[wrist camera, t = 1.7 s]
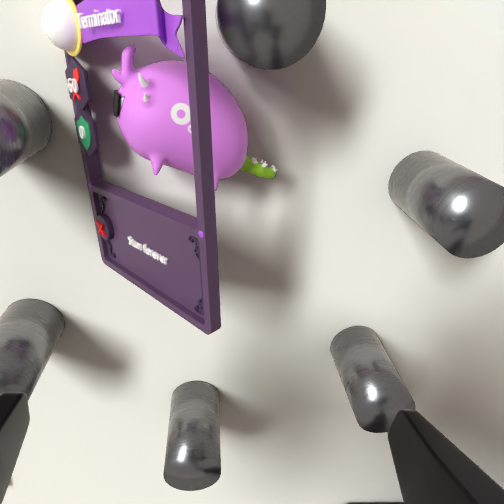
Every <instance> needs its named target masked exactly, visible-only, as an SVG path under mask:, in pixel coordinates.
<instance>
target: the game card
mask: <svg viewBox="0 0 504 504" xmlns="http://www.w3.org/2000/svg"><path fill="white" fill-rule="evenodd" d="M182 5H183V15H171V14H169V13H167V12H166V11H165V10H164V9H163V8H162V6H161V3H160V0H54V1H52V2H50V3H49V4H47V6H46V7H45V8H44V10H43V12H42V17H41V23H42V27H43V30H44V33H45V35H46V36H47V38H48V39H49V40H50V41H51V42H52V43H53V44H54V45H55V46H57V47H59V48H61V49H63V50H64V51H65V57H66V63H67V69H66V71H65V73H66V78H67V83H68V88H69V93H70V98H71V99H72V101H73V107H74V113H75V118H74V119H75V125H76V130H77V135H78V140H79V143H80V147H81V152H82V157H83V163H84V168H85V173H86V178H87V183H88V189H89V194H90V199H91V204H92V209H93V215H94V220H95V225H96V230H97V235H98V241H99V246H100V251H101V256H102V260H103V262H104V263H105V264H106V265H107V266H109V267H110V268H111V269H113V270H114V271H116V272H117V273H119V274H120V275H122V276H123V277H124V278H126V279H127V280H129V281H130V282H132V283H133V284H135V285H136V286H138V287H139V288H140V289H142V290H143V291H145V292H146V293H148V294H149V295H151V296H152V297H153V298H155V299H156V300H158V301H159V302H161V303H162V304H164V305H165V306H167V307H168V308H169V309H171V310H172V311H174V312H175V313H177V314H178V315H180V316H181V317H182V318H184V319H185V320H187V321H188V322H190V323H191V324H193V325H194V326H196V327H197V328H198V329H200V330H201V331H203V332H204V333H206V334H208V335H209V334H211V333H213V332H214V331H216V330H218V329H220V327H221V317H220V296H219V276H218V255H217V234H216V214H215V193H214V191H215V190H216V189H217V186H218V181H219V179H225V178H228V177H231V176H232V175H234V174H235V173H236V172H237V171H238V170H242V171H245V172H247V173H250V174H254V175H256V176H258V177H266V178H269V179H273V178H274V177H275V175H276V171H277V169H275V167H276V166H274V165H272V166H271V167H267V165H268V164H266V161H265V162H264V163H263V159H262V160H261V161H260V163H259V162H258V161H256V159H257V157H256V158H255V156H254V157H252V158H249V157H248V156H247V155H246V153H247V147H248V132H247V126H246V122H245V118H244V115H243V113H242V111H241V109H240V107H239V105H238V103H237V101H236V100H235V98H234V97H233V95H232V94H231V93H230V92H229V90H228V89H227V88H226V87H225V86H224V85H223V84H222V83H221V82H220V81H219V80H218V79H217V78H216V77H214V76H213V75H212V74H211V73H209V69H208V48H207V28H206V7H205V0H182ZM182 19H184V33H185V48H186V62H184V61H175V60H170V61H161V62H156V63H152V64H149V65H146V66H143V67H141V68H139V69H137V70H136V71H135V70H134V67H133V56H134V53H135V50H136V48H135V47H134V45H129V46H128V47H126V48H125V49H124V51H123V53H122V71H120V70H118V69H112V74H113V76H114V78H115V79H116V80H117V81H118V82H119V83H120V84H121V86H120V88H119V90H115V91H114V98H113V109H114V115H115V116H116V117H117V121H118V124H119V127H120V129H121V131H122V133H123V135H124V137H125V139H126V141H127V142H128V144H129V145H130V147H131V148H132V149H133V150H134V151H135V152H136V153H137V154H139V155H140V156H142V157H143V158H145V159H148V160H150V161H151V163H152V167H153V171H154V175H157V174H158V173H159V171H160V169H161V167H162V165H167V166H170V167H173V168H176V169H179V170H182V171H185V172H188V173H191V174H193V175H194V176H195V190H196V205H197V218H195V217H193V216H190V215H188V214H185V213H183V212H180V211H178V210H175V209H173V208H170V207H168V206H165V205H163V204H160V203H158V202H155V201H153V200H150V199H148V198H145V197H142V196H140V195H137V194H135V193H132V192H130V191H127V190H125V189H122V188H120V187H117V186H115V185H112V184H110V183H107V182H105V181H103V180H102V178H101V173H100V167H99V162H98V156H97V150H98V148H99V141H98V135H97V130H96V124H95V121H94V120H93V118H92V117H91V116H90V110H89V103H90V101H91V95H90V89H89V83H88V77H87V71H86V70H85V69H84V68H83V67H82V66H81V64H80V63H79V62H78V61H77V60H76V58H75V57H74V56H77V55H78V54H79V53H80V51H81V47H82V43H88V42H90V41H93V40H96V39H100V38H106V37H119V36H139V35H157V36H159V37H160V39H161V41H162V43H163V44H164V45H165V46H166V47H167V48H168V49H169V50H171V51H172V52H174V53H175V54H177V55H179V56H180V57H182V58H185V57H184V54H183V51H182V48H181V46H180V44H179V41H178V39H177V35H176V34H177V31H178V29H179V27H180V25H181V22H182Z"/></svg>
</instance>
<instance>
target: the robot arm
mask: <svg viewBox="0 0 504 504" xmlns="http://www.w3.org/2000/svg"><path fill="white" fill-rule="evenodd" d="M29 419H30V416H29V408H28V401H27V395H26V394H25V393H24V392H13V391H7V392H4V393H2V394H1V395H0V504H1V503H2V501H3V499H4V496H5V493H6V490H7V488H8V485H9V482H10V479H11V476H12V473H13V470H14V467H15V464H16V461H17V458H18V455H19V452H20V449H21V446H22V444H23V441H24V438H25V435H26V432H27V429H28V425H29ZM388 440H389V444H390V448H391V452H392V456H393V461H394V465H395V469H396V473H397V477H398V481H399V485H400V489H401V493H402V497H403V500H404V503H405V504H504V489H502V488H501V487H500V486H499V485H498V484H497V483H496V482H495V481H494V480H492V479H491V478H490V477H489V476H488V475H487V474H486V473H485V472H484V471H483V470H481V469H480V468H479V467H478V466H477V465H476V464H475V463H474V462H473V461H471V460H470V459H469V458H468V457H467V456H466V455H465V454H464V453H463V452H462V451H460V450H459V449H458V448H457V447H456V446H455V445H454V444H453V443H452V442H450V441H449V440H448V439H447V438H446V437H445V436H444V435H443V434H442V433H440V432H439V431H438V430H437V429H436V428H435V427H434V426H433V425H432V424H431V423H429V422H428V421H427V420H426V419H425V418H424V417H423V416H422V415H421V414H419V413H418V412H417V411H415V410H409V409H400V410H399V411H398V412H397V414H396V416H395V418H394V419H393V421H392V423H391V425H390V427H389V430H388Z"/></svg>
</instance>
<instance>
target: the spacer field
mask: <svg viewBox="0 0 504 504" xmlns="http://www.w3.org/2000/svg"><path fill="white" fill-rule="evenodd" d="M325 13H326V0H218V1H217V6H216V25H217V29H218V33H219V35H220V37H221V39H222V41H223V43H224V44H225V46H226V47H227V48H228V49H229V50H230V51H231V52H232V53H233V54H235V55H236V56H237V57H239V58H240V59H242V60H243V61H245V62H247V63H248V64H250V65H252V66H255V67H258V68H261V69H268V70H271V69H280V68H284V67H287V66H290V65H292V64H294V63H296V62H297V61H299V60H300V59H301V58H302V57H304V56H305V55H306V54H307V53H308V52H309V50H310V49H311V48H312V47H313V45H314V44H315V42H316V40H317V39H318V37H319V35H320V32H321V30H322V27H323V23H324V19H325ZM51 132H52V122H51V117H50V114H49V112H48V109H47V108H46V106H45V104H44V103H43V101H42V100H41V99H40V98H39V96H38V95H37V94H36V93H34V92H33V91H32V90H31V89H29V88H28V87H26V86H24V85H22V84H20V83H18V82H15V81H11V80H5V79H0V177H1V176H2V175H4V174H5V173H7V172H8V171H10V170H11V169H13V168H14V167H16V166H17V165H19V164H20V163H22V162H23V161H25V160H26V159H28V158H29V157H31V156H32V155H34V154H35V153H37V152H38V151H40V150H41V149H43V148H44V147H45V146H46V144H47V143H48V141H49V139H50V136H51ZM388 189H389V194H390V197H391V199H392V201H393V202H394V203H395V204H396V205H397V206H398V207H399V208H401V209H402V210H403V211H404V212H405V213H406V214H407V215H408V216H409V217H411V218H412V219H413V220H414V221H415V222H416V223H417V224H418V225H419V226H421V227H422V228H423V229H424V230H425V231H426V232H427V233H428V234H430V235H431V236H432V237H433V238H434V239H435V240H436V241H437V242H438V243H440V244H441V245H442V246H443V247H444V248H445V249H446V250H447V251H448V252H450V253H451V254H453V255H455V256H457V257H461V258H475V257H479V256H483V255H485V254H488V253H490V252H492V251H493V250H495V249H496V248H498V247H499V246H500V245H502V244H503V243H504V187H502V186H500V185H498V184H496V183H495V182H493V181H491V180H489V179H487V178H485V177H483V176H481V175H479V174H477V173H475V172H473V171H471V170H469V169H467V168H465V167H463V166H461V165H459V164H457V163H455V162H453V161H451V160H449V159H447V158H445V157H443V156H441V155H440V154H438V153H435V152H432V151H419V152H415V153H413V154H410V155H409V156H407V157H406V158H404V159H403V160H402V161H401V162H400V163H399V164H398V165H397V166H396V167H395V169H394V170H393V172H392V174H391V177H390V180H389V188H388ZM63 330H64V319H63V317H62V315H61V314H60V312H59V311H58V310H57V309H56V308H55V307H53V306H52V305H50V304H48V303H46V302H44V301H41V300H37V299H22V300H18V301H16V302H14V303H12V304H11V305H10V306H9V307H8V308H7V309H6V311H5V312H4V313H3V315H2V316H1V317H0V395H1V394H2V393H4V392H7V391H13V392H24V393H25V394H26V395H27V401H28V400H29V398H30V396H31V394H32V392H33V390H34V388H35V386H36V384H37V382H38V380H39V378H40V376H41V374H42V372H43V370H44V368H45V366H46V364H47V362H48V360H49V358H50V356H51V354H52V352H53V350H54V348H55V346H56V344H57V342H58V340H59V338H60V336H61V334H62V332H63ZM330 351H331V354H332V357H333V359H334V362H335V364H336V367H337V370H338V372H339V375H340V377H341V380H342V383H343V385H344V388H345V391H346V393H347V396H348V398H349V401H350V404H351V406H352V409H353V411H354V414H355V417H356V419H357V422H358V424H359V426H360V427H361V428H362V429H364V430H366V431H369V432H374V433H382V432H388V430H389V427H390V425H391V423H392V421H393V419H394V418H395V416H396V414H397V412H398V411H399V410H400V409H409V410H415V403H414V401H413V399H412V397H411V395H410V394H409V392H408V390H407V388H406V386H405V385H404V383H403V381H402V379H401V377H400V376H399V374H398V372H397V370H396V369H395V367H394V365H393V363H392V361H391V360H390V358H389V356H388V354H387V353H386V351H385V349H384V347H383V345H382V344H381V342H380V340H379V338H378V336H377V335H376V333H375V332H374V331H373V330H372V329H370V328H368V327H364V326H354V327H350V328H347V329H345V330H343V331H341V332H340V333H338V334H337V335H336V336H335V338H334V339H333V341H332V343H331V346H330ZM220 475H221V459H220V418H219V394H218V391H217V390H216V388H215V387H214V386H212V385H211V384H209V383H206V382H202V381H191V382H187V383H184V384H182V385H180V386H178V387H177V388H176V389H175V390H174V392H173V394H172V400H171V410H170V419H169V428H168V438H167V447H166V457H165V466H164V479H165V481H166V482H167V483H168V484H169V485H170V486H172V487H174V488H176V489H179V490H185V491H195V490H201V489H204V488H207V487H209V486H211V485H213V484H214V483H215V482H216V481H217V480H218V479H219V477H220Z"/></svg>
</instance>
